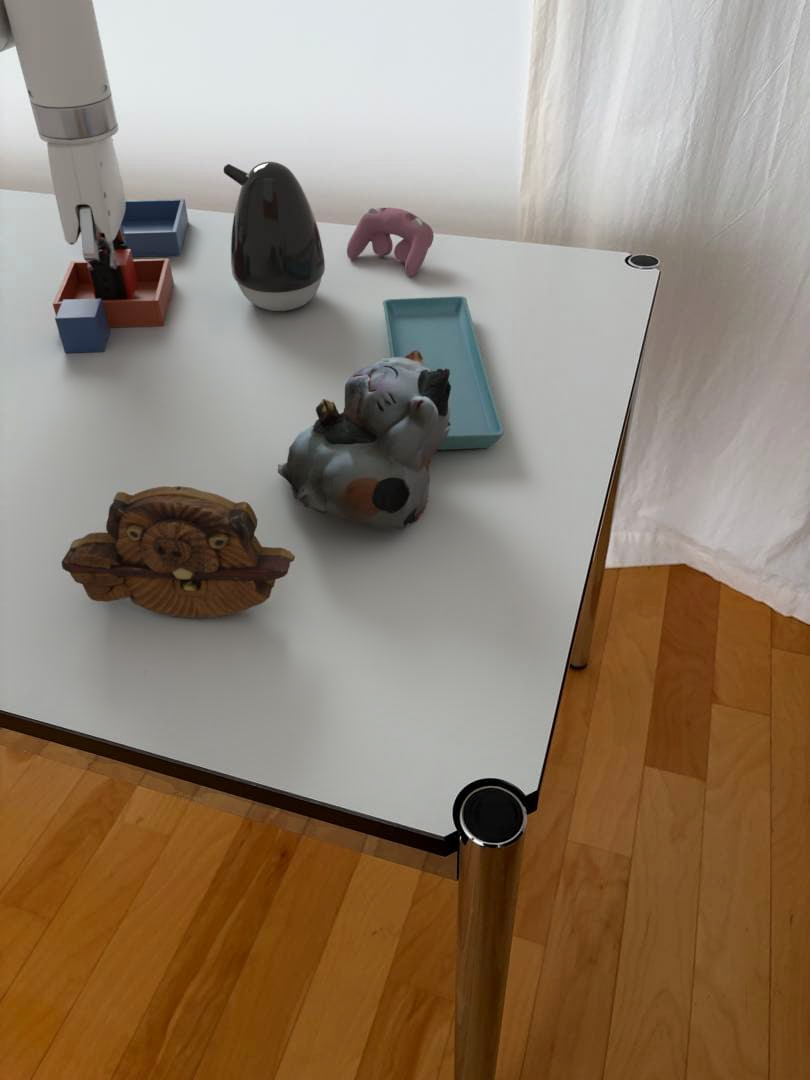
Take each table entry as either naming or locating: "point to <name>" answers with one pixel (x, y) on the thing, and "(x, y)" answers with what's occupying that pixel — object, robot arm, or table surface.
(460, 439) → the rectangular tray
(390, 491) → the lucky cat figurine
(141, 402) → the table surface
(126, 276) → the red block
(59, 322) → the blue block
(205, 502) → the wooden carving
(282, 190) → the pump dispenser
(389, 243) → the video game controller
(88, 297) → the red bin
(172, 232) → the blue bin
